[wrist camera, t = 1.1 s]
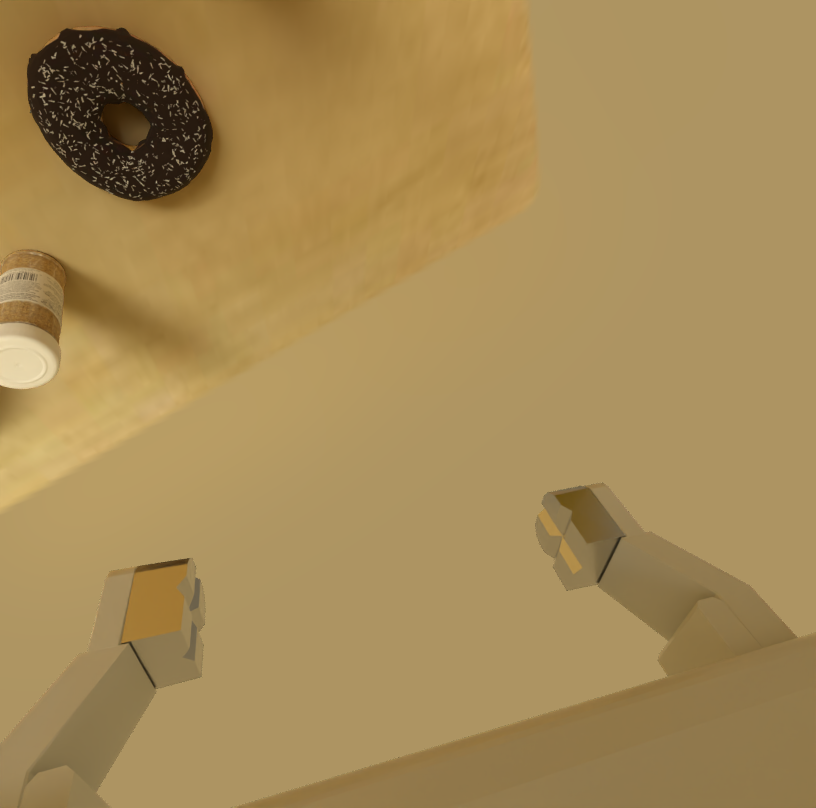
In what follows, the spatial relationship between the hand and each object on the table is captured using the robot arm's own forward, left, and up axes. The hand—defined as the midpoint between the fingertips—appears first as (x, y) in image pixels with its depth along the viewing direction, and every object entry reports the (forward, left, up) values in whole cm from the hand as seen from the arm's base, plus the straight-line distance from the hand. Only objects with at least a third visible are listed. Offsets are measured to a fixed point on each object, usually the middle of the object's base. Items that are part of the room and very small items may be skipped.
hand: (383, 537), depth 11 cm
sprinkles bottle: (+6, -18, -42) cm, 46 cm away
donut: (-1, -4, -42) cm, 43 cm away
